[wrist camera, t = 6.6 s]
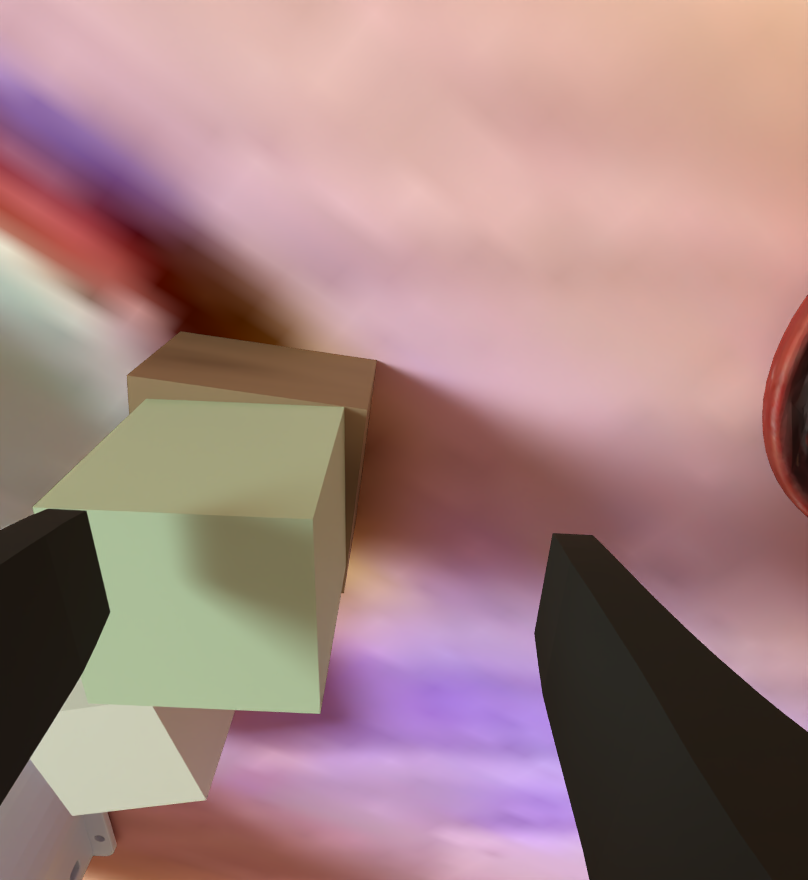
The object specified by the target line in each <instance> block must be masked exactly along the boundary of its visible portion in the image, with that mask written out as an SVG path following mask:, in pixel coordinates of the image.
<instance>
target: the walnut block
mask: <svg viewBox="0 0 808 880" xmlns="http://www.w3.org/2000/svg"><path fill="white" fill-rule="evenodd" d="M376 363H377V360H372V359H365V358H358V357H351V356H344V355H337V354H331V353H324V352H317V351H310V350H303V349H296V348H290V347H283V346H276V345H269V344H262V343H255V342H249V341H242V340H235V339H228V338H221V337H214V336H208V335H201V334H194V333H187V332H179V333H178V334H177V335H176V336H175V337H173V338H172V339H171V340H170V341H168V342H167V343H166V344H165V345H163V346H162V347H161V348H160V349H159V350H157V351H156V352H155V353H154V354H152V355H151V356H150V357H149V358H148V359H146V360H145V361H144V362H143V363H141V364H140V365H139V366H138V367H136V368H135V369H134V370H133V371H132V372H130V373H129V374H128V375H127V387H128V402H129V415H130V414H131V413H132V412H133V411H134V410H135V409H136V408H137V407H138V406H139V405H140V404H141V403H142V402H143V401H144V400H145V399H164V400H188V401H212V402H236V403H260V404H284V405H308V406H332V407H344V423H345V525H346V568H345V574H344V580H343V586H342V591H341V593H344V588H345V582H346V576H347V570H348V564H349V558H350V552H351V546H352V540H353V534H354V528H355V522H356V515H357V507H358V500H359V492H360V484H361V477H362V469H363V462H364V454H365V446H366V439H367V431H368V424H369V416H370V408H371V401H372V393H373V386H374V378H375V370H376Z"/></svg>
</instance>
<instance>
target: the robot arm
mask: <svg viewBox="0 0 808 880" xmlns="http://www.w3.org/2000/svg"><path fill="white" fill-rule="evenodd" d="M109 614H110V608H109V603H108V599H107V595H106V591H105V587H104V582H103V578H102V574H101V570H100V565H99V561H98V557H97V553H96V549H95V544H94V540H93V536H92V532H91V527H90V523H89V519H88V515H87V511H86V510H66V509H45V510H43V511H41V512H38V513H36V514H33V515H31V516H29V517H27V518H25V519H23V520H20V521H18V522H16V523H14V524H12V525H10V526H8V527H6V528H4V529H2V530H0V880H82V879H83V876H84V874H85V872H86V870H87V868H88V865H89V863H90V861H91V859H92V857H93V856H109V855H112V854H113V853H114V851H115V848H116V846H117V843H116V840H115V836H114V833H113V829H112V826H111V822H110V819H109V815H108V812H101V813H93V814H84V815H76V816H72V815H71V814H70V812H69V811H68V810H67V808H66V807H65V805H64V804H63V803H62V801H61V800H60V799H59V797H58V796H57V795H56V793H55V792H54V791H53V789H52V788H51V787H50V785H49V784H48V783H47V781H46V780H45V779H44V777H43V776H42V775H41V773H40V772H39V771H38V769H37V768H36V767H35V765H34V764H33V762H32V761H31V760H30V758H31V756H32V755H33V753H34V751H35V750H36V748H37V747H38V745H39V743H40V742H41V740H42V739H43V737H44V735H45V734H46V732H47V731H48V729H49V727H50V726H51V724H52V723H53V721H54V719H55V718H56V716H57V715H58V713H59V711H60V710H61V708H62V706H63V705H64V703H65V702H66V700H67V698H68V697H69V695H70V693H71V692H72V690H73V689H74V687H75V685H76V684H77V682H78V680H79V679H80V677H81V675H82V673H83V672H84V670H85V668H86V665H87V663H88V661H89V659H90V657H91V655H92V653H93V651H94V649H95V647H96V644H97V642H98V640H99V637H100V635H101V633H102V631H103V628H104V626H105V624H106V621H107V619H108V617H109ZM534 634H535V642H536V650H537V658H538V666H539V673H540V680H541V686H542V693H543V698H544V702H545V706H546V710H547V714H548V718H549V722H550V726H551V730H552V734H553V738H554V742H555V745H556V749H557V753H558V757H559V761H560V765H561V768H562V772H563V776H564V780H565V784H566V787H567V791H568V795H569V799H570V803H571V807H572V810H573V814H574V818H575V822H576V826H577V829H578V833H579V837H580V841H581V845H582V849H583V853H584V857H585V862H586V866H587V871H588V875H589V880H808V732H807V731H806V730H805V729H803V728H802V727H801V726H799V725H798V724H797V723H795V722H794V721H793V720H792V719H790V718H789V717H788V716H786V715H785V714H784V713H783V712H781V711H780V710H779V709H778V708H776V707H775V706H774V705H773V704H772V703H770V702H769V701H768V700H767V699H765V698H764V697H763V696H762V695H761V694H759V693H758V692H757V691H756V690H755V689H753V688H752V687H751V686H750V685H749V684H748V683H747V682H745V681H744V680H743V679H742V678H741V677H740V676H739V675H737V674H736V673H735V672H734V671H733V670H732V669H730V668H729V667H728V666H727V665H726V664H725V663H724V662H722V661H721V660H720V659H719V658H718V657H717V656H716V655H714V654H713V653H712V652H711V651H710V650H709V649H708V648H707V647H706V646H705V645H704V644H702V643H701V642H700V641H699V640H698V639H697V638H696V637H695V636H694V635H693V634H692V633H691V632H689V631H688V630H687V629H686V628H685V627H684V626H683V625H682V624H681V623H680V622H679V621H678V620H677V619H676V618H675V617H674V616H673V615H672V614H671V613H670V612H669V611H668V610H667V609H666V608H664V607H663V606H662V605H661V604H660V603H659V602H658V601H657V600H656V599H655V598H654V597H653V596H652V595H651V594H650V593H649V592H648V591H647V590H646V589H645V588H644V587H643V586H642V585H641V584H640V583H639V582H638V580H637V579H636V578H635V577H634V576H633V575H632V574H631V573H630V572H629V571H628V570H627V569H626V568H625V567H624V566H623V565H622V564H621V563H620V562H619V561H618V560H617V559H616V558H615V557H614V556H613V555H612V554H611V553H610V552H609V551H608V550H607V549H606V548H605V547H604V546H603V545H602V544H601V543H600V542H599V541H598V540H597V539H596V538H595V537H594V536H593V535H577V534H556V533H553V535H552V540H551V546H550V551H549V556H548V562H547V567H546V573H545V578H544V584H543V589H542V595H541V600H540V605H539V611H538V616H537V622H536V627H535V633H534Z"/></svg>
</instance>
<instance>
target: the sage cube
mask: <svg viewBox="0 0 808 880" xmlns="http://www.w3.org/2000/svg"><path fill="white" fill-rule="evenodd" d="M32 508H33V512H34V514H36V513H38V512H41V511H43V510H45V509H66V510H86V511H87V515H88V519H89V523H90V527H91V532H92V536H93V540H94V544H95V549H96V553H97V557H98V561H99V565H100V570H101V574H102V578H103V582H104V587H105V591H106V595H107V599H108V603H109V608H110V614H109V617H108V619H107V621H106V624H105V626H104V628H103V631H102V633H101V635H100V637H99V640H98V642H97V644H96V647H95V649H94V651H93V653H92V655H91V657H90V659H89V661H88V663H87V665H86V668H85V670H84V672H83V673H82V675H81V680H82V683H83V687H84V690H85V694H86V697H87V701H88V703H91V704H113V705H135V706H158V707H180V708H202V709H224V710H247V711H269V712H291V713H314V714H320V713H321V707H322V701H323V695H324V690H325V684H326V678H327V672H328V666H329V661H330V655H331V649H332V643H333V638H334V632H335V626H336V620H337V615H338V609H339V603H340V597H341V591H342V586H343V580H344V574H345V568H346V525H345V423H344V407H332V406H308V405H284V404H260V403H236V402H212V401H188V400H164V399H145V400H144V401H143V402H142V403H141V404H140V405H139V406H138V407H137V408H136V409H135V410H134V411H133V412H132V413H131V414H130V415H129V416H128V417H126V418H125V419H124V420H123V421H122V422H121V423H120V424H119V425H118V426H117V427H116V428H115V429H114V430H113V431H112V432H111V433H110V434H109V435H108V436H107V437H105V438H104V439H103V440H102V441H101V442H100V443H99V444H98V445H97V446H96V447H95V448H94V449H93V450H92V451H91V452H90V453H89V454H88V455H87V456H86V457H85V458H83V459H82V460H81V461H80V462H79V463H78V464H77V465H76V466H75V467H74V468H73V469H72V470H71V471H70V472H69V473H68V474H67V475H66V476H65V477H64V478H63V479H61V480H60V481H59V482H58V483H57V484H56V485H55V486H54V487H53V488H52V489H51V490H50V491H49V492H48V493H47V494H46V495H45V496H44V497H43V498H42V499H40V500H39V501H38V502H37V503H36V504H35V505H34V506H33V507H32Z"/></svg>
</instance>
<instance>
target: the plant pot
mask: <svg viewBox="0 0 808 880" xmlns="http://www.w3.org/2000/svg"><path fill="white" fill-rule="evenodd" d="M762 421H763V436H764V443H765V449H766V453H767V457H768V460H769V463H770V466H771V469H772V471H773V473H774V475H775V477H776V479H777V481H778V483H779V484H780V486H781V488H782V489H783V491H784V492H785V494H786V495H787V496H788V498H789V499H790V500H791V501H792V502H793V503H794V504H795V506H796V507H797V508H798V509H799V510H800V511H801V512H803V513H804V514H805V515H806V516H807V517H808V295H807V297H806V298H805V299H804V301H803V302H802V304H801V305H800V307H799V309H798V310H797V312H796V313H795V315H794V316H793V318H792V320H791V322H790V323H789V325H788V327H787V329H786V331H785V333H784V335H783V337H782V339H781V341H780V344H779V346H778V348H777V351H776V353H775V355H774V358H773V361H772V365H771V368H770V372H769V375H768V378H767V382H766V389H765V393H764V398H763V411H762Z"/></svg>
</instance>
